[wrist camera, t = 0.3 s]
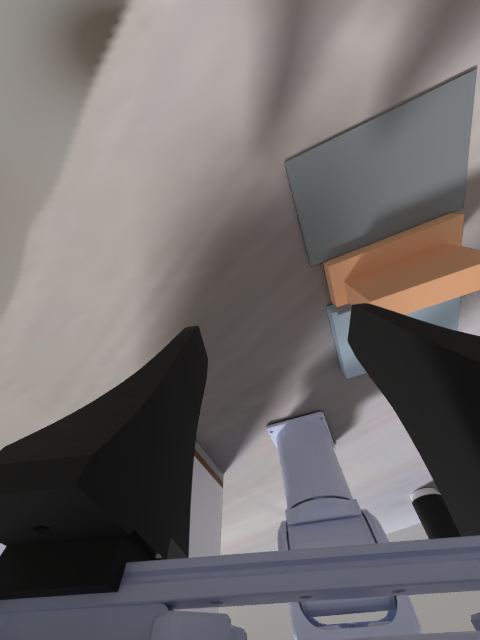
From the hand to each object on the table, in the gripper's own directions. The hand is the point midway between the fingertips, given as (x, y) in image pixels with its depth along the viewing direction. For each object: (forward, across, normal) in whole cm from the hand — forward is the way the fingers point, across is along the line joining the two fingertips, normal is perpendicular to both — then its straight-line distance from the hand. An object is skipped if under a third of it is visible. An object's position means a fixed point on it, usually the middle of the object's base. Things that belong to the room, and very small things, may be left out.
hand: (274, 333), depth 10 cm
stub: (+10, -11, +1) cm, 15 cm away
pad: (+10, -10, -5) cm, 15 cm away
